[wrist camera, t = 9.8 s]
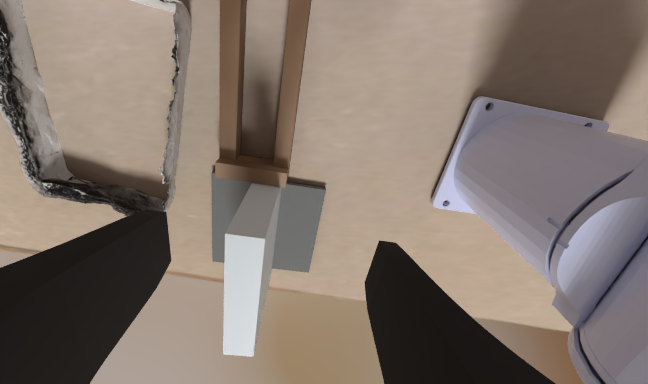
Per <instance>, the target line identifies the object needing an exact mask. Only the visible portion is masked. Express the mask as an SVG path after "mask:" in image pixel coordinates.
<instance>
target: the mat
mask: <svg viewBox="0 0 648 384" xmlns="http://www.w3.org/2000/svg"><path fill="white" fill-rule="evenodd" d="M251 184H252V183H250V182H244V181H237V180H230V179H224V178H217V177H215V171H213V172H212V251H213V261H215V262H223V263H225V233H226V231H227V229H228V227H229V225H230V223H231V221H232V219H233V218H234V216H235V214H236V212H237V210H238V208H239V206H240V204H241V203H242V201H243V199H244V197H245V195H246V193H247V191H248V189H249V187H250V186H251ZM325 191H326V188H324V187H318V186H311V185H305V184H298V183H292V182H287V183H286V187H285V188H283V187H282V189H281V197H280V205H279V213H278V221H277V230H276V238H275V246H274V254H273V263H272V268H274V269H283V270H291V271H300V272H308V273H309V268H310V263H311V259H312V254H313V249H314V244H315V239H316V234H317V230H318V225H319V220H320V215H321V210H322V206H323V201H324V196H325Z"/></svg>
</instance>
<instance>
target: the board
mask: <svg viewBox="0 0 648 384" xmlns="http://www.w3.org/2000/svg"><path fill="white" fill-rule="evenodd" d="M281 189H282V187H277V186H270V185H263V184H257V183H252V184H251V186H250V187H249V189H248V191H247V193H246V195H245V197H244V199H243V201H242V203H241V204H240V206H239V208H238V210H237V212H236V214H235V216H234V218H233V219H232V221H231V223H230V225H229V227H228V229H227V231H226V233H225V263H224V335H223V336H224V337H223V354H226V355H238V356H252V357H253V356H254V351H255V346H256V342H257V337H258V333H259V328H260V323H261V319H262V314H263V309H264V304H265V300H266V295H267V290H268V286H269V281H270V276H271V271H272V263H273V254H274V246H275V238H276V230H277V221H278V213H279V205H280V197H281Z"/></svg>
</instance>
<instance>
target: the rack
mask: <svg viewBox="0 0 648 384" xmlns="http://www.w3.org/2000/svg"><path fill="white" fill-rule="evenodd" d="M246 4H247V0H220V158H219V159H218V160H217V161H216V162H215V177H217V178H224V179H230V180H237V181H244V182H250V183H257V184H263V185H270V186H277V187H283V188H285V187H286V183H287V179H288V174H289V167H290V159H291V151H292V144H293V136H294V129H295V121H296V113H297V106H298V98H299V90H300V83H301V75H302V68H303V60H304V52H305V45H306V37H307V30H308V22H309V14H310V7H311V0H290V4H289V14H288V24H287V34H286V44H285V53H284V63H283V73H282V83H281V93H280V103H279V113H278V123H277V133H276V142H275V152H274V160H271V159H265V158H259V157H252V156H246V155H240V153H241V129H242V104H243V79H244V54H245V29H246Z"/></svg>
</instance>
